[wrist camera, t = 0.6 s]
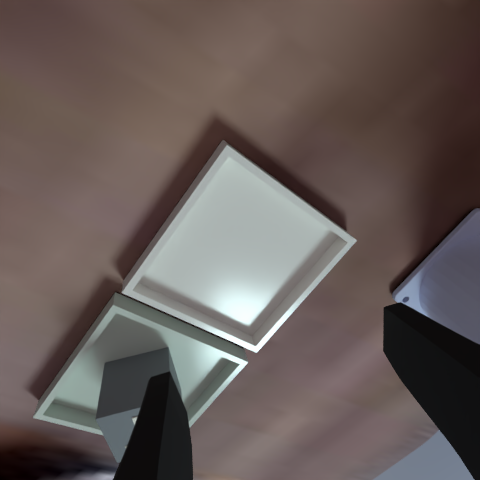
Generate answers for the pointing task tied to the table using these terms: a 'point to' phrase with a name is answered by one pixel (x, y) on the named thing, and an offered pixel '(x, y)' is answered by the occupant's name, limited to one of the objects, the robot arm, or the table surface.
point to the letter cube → (128, 394)
